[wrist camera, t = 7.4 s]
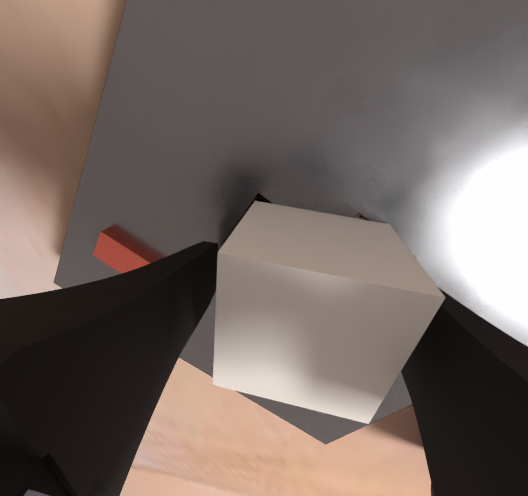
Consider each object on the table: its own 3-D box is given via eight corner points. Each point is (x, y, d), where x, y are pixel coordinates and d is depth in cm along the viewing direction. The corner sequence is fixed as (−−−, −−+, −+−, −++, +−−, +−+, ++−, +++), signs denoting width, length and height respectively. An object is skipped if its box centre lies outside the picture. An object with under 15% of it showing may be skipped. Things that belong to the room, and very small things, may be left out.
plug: (378, 209, 11) (445, 297, 5) (345, 301, 13) (368, 423, 8) (262, 190, 11) (217, 253, 6) (251, 282, 14) (212, 384, 8)
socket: (685, 213, 9) (802, 242, 7) (324, 413, 18) (326, 452, 16) (245, -233, 6) (211, -414, 4) (82, 264, 16) (45, 287, 14)
